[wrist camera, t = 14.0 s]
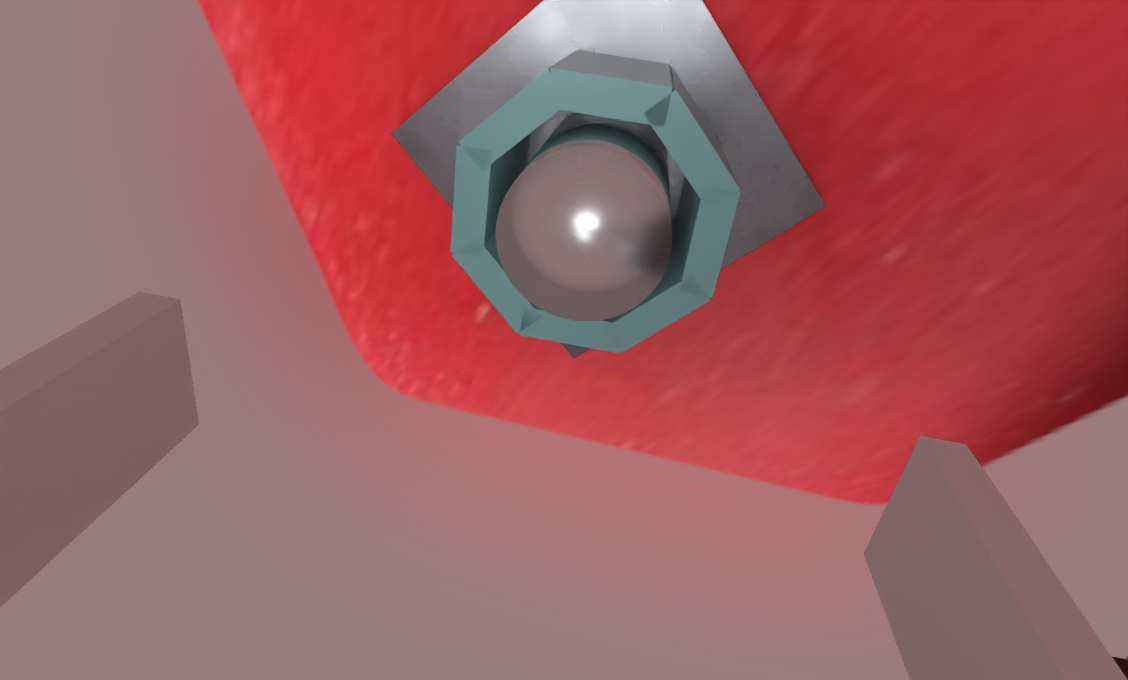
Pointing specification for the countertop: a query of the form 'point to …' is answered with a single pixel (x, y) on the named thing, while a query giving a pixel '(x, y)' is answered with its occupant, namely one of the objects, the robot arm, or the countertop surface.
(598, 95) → the collar
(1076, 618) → the robot arm
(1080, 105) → the countertop surface
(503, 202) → the domed lamp fixture
